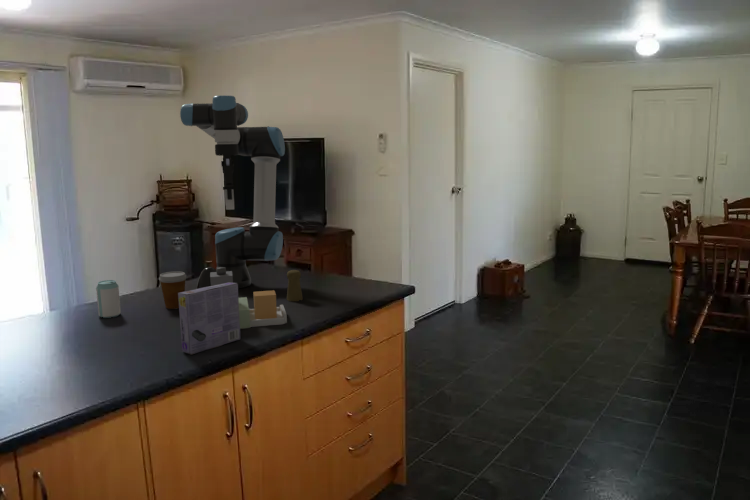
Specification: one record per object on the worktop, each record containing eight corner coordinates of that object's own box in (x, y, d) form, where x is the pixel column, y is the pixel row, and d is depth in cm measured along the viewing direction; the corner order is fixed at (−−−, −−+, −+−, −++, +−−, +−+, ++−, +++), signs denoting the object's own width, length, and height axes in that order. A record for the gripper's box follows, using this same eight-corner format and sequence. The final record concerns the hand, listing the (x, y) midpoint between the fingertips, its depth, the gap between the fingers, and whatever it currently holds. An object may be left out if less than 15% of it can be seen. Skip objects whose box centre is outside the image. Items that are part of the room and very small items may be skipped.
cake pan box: (234, 335, 196) (231, 279, 193) (244, 338, 193) (241, 282, 190) (180, 352, 181) (176, 292, 178) (190, 356, 178) (186, 295, 175)
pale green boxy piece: (205, 317, 215) (202, 265, 212) (282, 311, 221) (280, 260, 218) (204, 331, 200) (201, 275, 197) (287, 324, 206) (285, 270, 203)
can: (112, 311, 223) (109, 278, 221) (125, 314, 219) (122, 280, 217) (94, 316, 217) (91, 282, 215) (107, 319, 213) (104, 285, 211)
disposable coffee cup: (167, 311, 222) (164, 278, 220) (156, 306, 230) (154, 273, 227) (192, 306, 228) (190, 274, 226) (182, 301, 235) (179, 270, 233)
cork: (304, 300, 235) (303, 271, 233) (288, 302, 233) (287, 272, 231) (300, 296, 241) (299, 268, 239) (284, 298, 239) (283, 269, 237)
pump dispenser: (219, 313, 219) (216, 270, 216) (191, 312, 221) (188, 269, 218) (231, 305, 229) (229, 264, 226) (204, 304, 231) (202, 263, 228)
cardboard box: (254, 314, 214) (253, 291, 212) (275, 313, 216) (274, 290, 214) (255, 319, 208) (254, 296, 207) (276, 318, 210) (275, 294, 208)
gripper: (214, 142, 222) (218, 203, 225) (214, 144, 198) (218, 212, 202) (236, 142, 223) (239, 202, 227) (239, 143, 199) (242, 211, 203)
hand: (229, 207), depth 214 cm, fingers open, 13 cm apart
